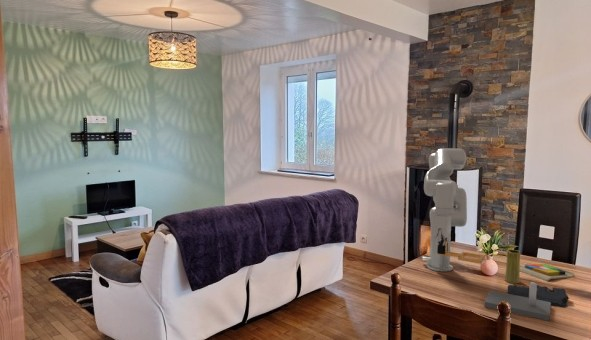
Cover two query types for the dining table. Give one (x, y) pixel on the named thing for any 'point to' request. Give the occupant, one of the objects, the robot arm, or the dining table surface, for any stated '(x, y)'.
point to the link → (463, 254)
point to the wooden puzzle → (545, 271)
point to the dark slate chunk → (542, 294)
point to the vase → (513, 266)
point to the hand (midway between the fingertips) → (442, 252)
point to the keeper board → (521, 303)
